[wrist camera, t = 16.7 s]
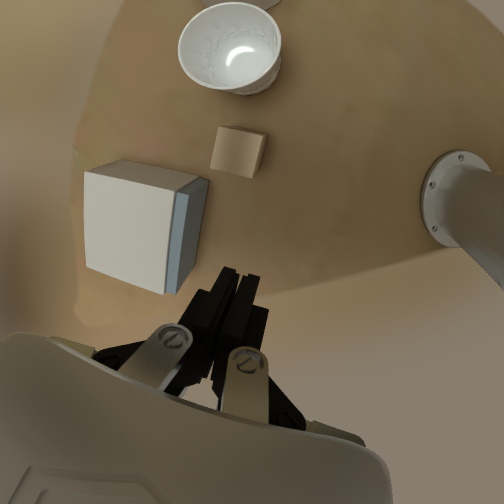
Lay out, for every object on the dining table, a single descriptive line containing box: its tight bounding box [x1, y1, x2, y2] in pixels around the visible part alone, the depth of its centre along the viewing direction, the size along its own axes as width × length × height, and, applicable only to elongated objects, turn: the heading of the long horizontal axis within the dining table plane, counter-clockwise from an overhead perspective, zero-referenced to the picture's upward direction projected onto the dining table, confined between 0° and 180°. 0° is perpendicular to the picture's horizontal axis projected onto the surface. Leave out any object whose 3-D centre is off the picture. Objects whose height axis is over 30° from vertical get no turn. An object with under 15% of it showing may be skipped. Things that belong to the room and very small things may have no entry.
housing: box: [84, 160, 200, 295], centre depth 30 cm, size 11×12×8 cm
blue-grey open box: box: [166, 178, 209, 295], centre depth 31 cm, size 11×12×7 cm
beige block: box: [210, 126, 268, 179], centre depth 26 cm, size 4×4×6 cm
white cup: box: [178, 2, 281, 95], centre depth 20 cm, size 8×8×10 cm
